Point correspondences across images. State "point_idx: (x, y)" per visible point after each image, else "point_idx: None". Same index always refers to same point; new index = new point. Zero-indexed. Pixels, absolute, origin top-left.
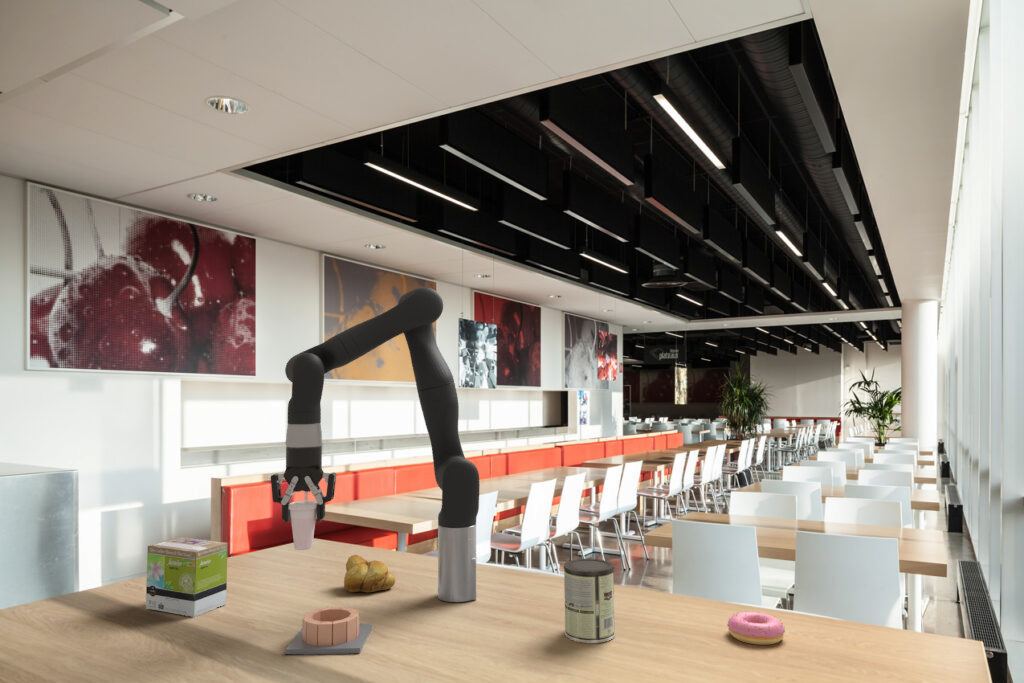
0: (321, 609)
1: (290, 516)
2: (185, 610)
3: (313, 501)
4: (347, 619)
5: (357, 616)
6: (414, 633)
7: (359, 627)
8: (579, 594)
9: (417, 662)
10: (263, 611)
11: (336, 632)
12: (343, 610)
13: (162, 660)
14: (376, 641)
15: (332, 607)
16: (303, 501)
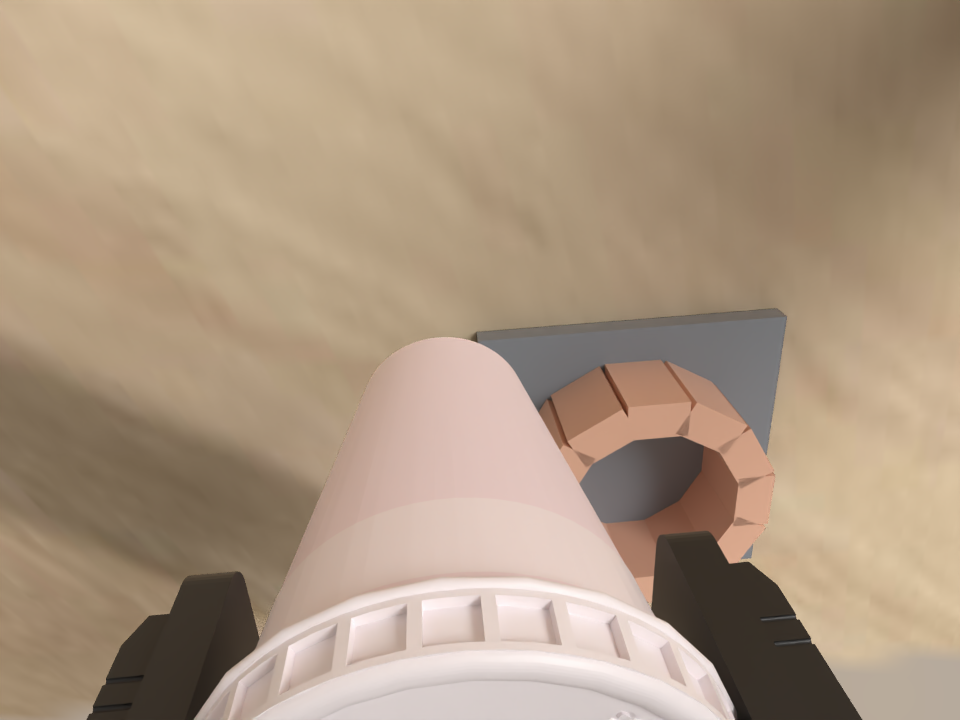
0: (591, 443)
1: (223, 613)
2: None
3: (627, 697)
4: (729, 550)
5: (768, 512)
6: (949, 358)
7: (734, 369)
8: None
9: (922, 590)
10: (125, 48)
11: None
12: (697, 442)
13: (76, 632)
14: (797, 443)
15: (639, 414)
16: (376, 700)
